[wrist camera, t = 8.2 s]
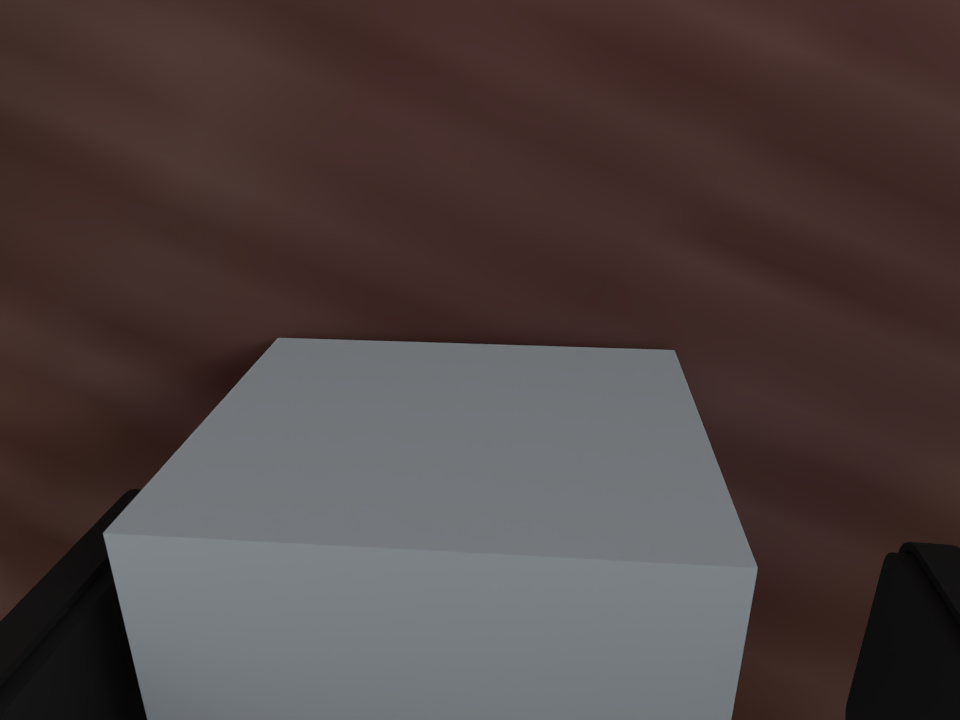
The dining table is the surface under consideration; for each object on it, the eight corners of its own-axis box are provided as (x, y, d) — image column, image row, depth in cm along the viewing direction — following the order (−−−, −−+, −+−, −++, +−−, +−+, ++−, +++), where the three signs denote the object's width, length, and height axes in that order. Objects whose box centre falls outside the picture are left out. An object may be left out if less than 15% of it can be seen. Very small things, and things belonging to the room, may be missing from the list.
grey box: (674, 349, 11) (760, 576, 7) (641, 660, 14) (687, 989, 9) (277, 337, 12) (95, 540, 7) (312, 639, 14) (193, 941, 9)
